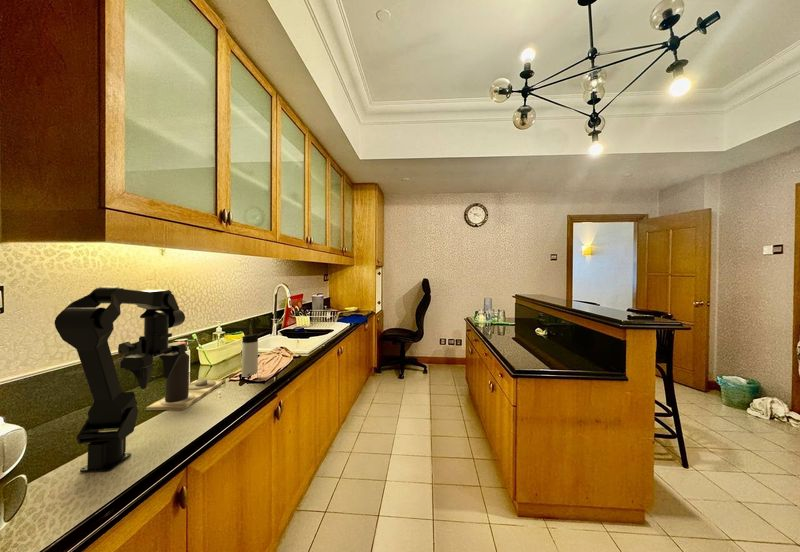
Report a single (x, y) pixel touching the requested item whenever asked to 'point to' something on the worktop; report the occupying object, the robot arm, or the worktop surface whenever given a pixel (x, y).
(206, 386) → the board
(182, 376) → the vinegar
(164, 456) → the worktop surface
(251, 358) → the travel mug
